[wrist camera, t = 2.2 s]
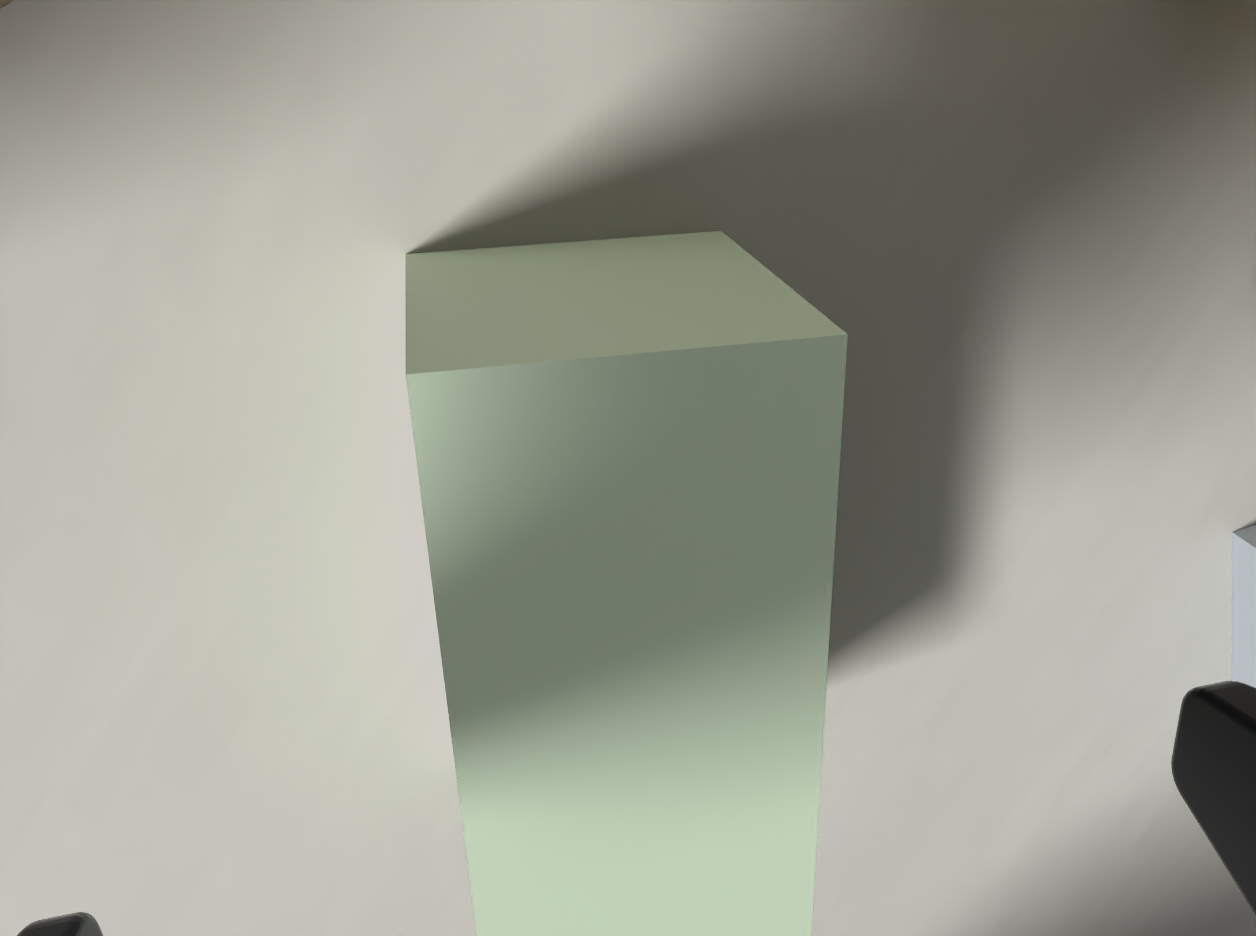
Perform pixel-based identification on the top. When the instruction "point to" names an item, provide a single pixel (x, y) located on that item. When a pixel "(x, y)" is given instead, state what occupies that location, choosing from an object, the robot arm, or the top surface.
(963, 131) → the top surface
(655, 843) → the sage brick
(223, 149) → the top surface
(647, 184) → the top surface
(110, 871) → the top surface
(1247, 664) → the slate brick
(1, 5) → the walnut brick
